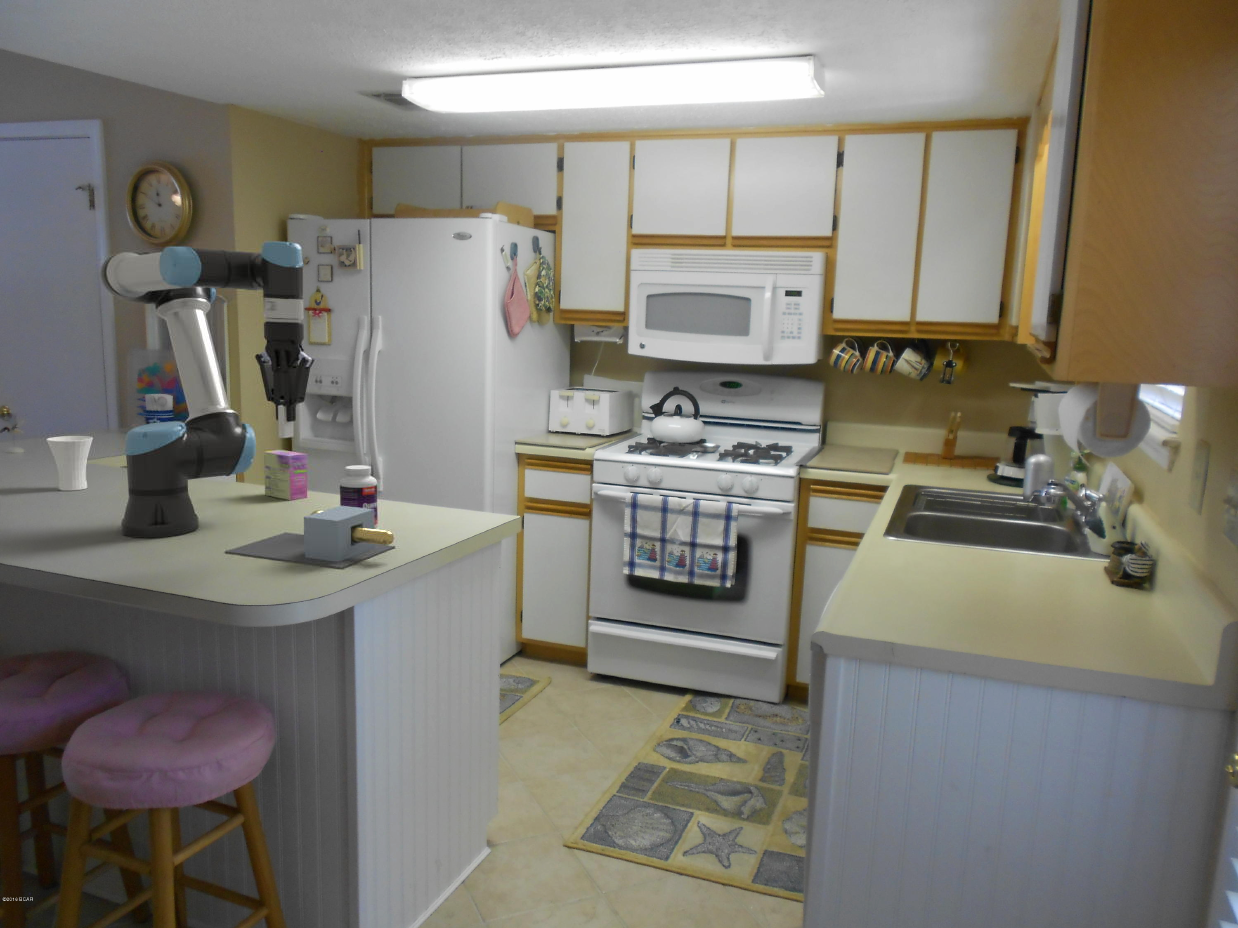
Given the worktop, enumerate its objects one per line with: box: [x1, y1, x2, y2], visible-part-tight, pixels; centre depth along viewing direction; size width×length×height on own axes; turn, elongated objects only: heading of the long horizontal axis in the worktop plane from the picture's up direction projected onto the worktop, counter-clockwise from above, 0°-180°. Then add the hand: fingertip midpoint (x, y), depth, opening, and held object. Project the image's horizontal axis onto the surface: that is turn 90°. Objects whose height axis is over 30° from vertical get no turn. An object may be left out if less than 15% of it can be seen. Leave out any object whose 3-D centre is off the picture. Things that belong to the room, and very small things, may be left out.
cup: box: [46, 435, 94, 492], centre depth 238 cm, size 10×10×14 cm
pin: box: [309, 509, 395, 546], centre depth 180 cm, size 18×8×8 cm, turn 71°
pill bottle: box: [339, 464, 379, 530], centre depth 201 cm, size 8×8×14 cm
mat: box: [224, 532, 396, 570], centre depth 184 cm, size 28×18×1 cm, turn 71°
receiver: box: [303, 505, 376, 562], centre depth 181 cm, size 8×12×8 cm, turn 161°
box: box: [263, 449, 308, 501], centre depth 236 cm, size 10×6×12 cm, turn 58°
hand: (286, 436), depth 184 cm, fingers closed
